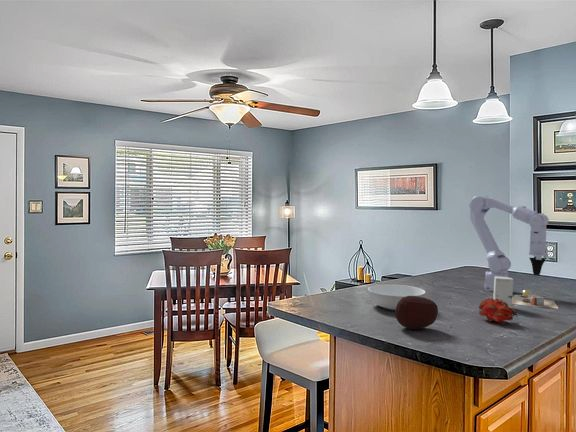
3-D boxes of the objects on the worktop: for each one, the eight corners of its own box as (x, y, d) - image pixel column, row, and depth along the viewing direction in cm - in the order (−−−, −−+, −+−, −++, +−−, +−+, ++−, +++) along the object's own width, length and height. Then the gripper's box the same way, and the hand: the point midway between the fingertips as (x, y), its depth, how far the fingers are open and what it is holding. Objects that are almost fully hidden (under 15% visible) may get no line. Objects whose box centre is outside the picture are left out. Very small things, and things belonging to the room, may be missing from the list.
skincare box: (494, 310, 164) (495, 277, 163) (492, 307, 168) (493, 276, 168) (512, 312, 162) (513, 279, 162) (510, 309, 166) (511, 277, 166)
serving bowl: (356, 303, 171) (357, 285, 171) (401, 299, 179) (401, 282, 179) (389, 317, 152) (390, 297, 152) (437, 312, 160) (438, 293, 160)
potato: (443, 334, 133) (444, 300, 133) (400, 334, 132) (401, 299, 132) (429, 323, 144) (430, 292, 144) (389, 323, 143) (390, 292, 143)
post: (522, 300, 178) (522, 290, 178) (522, 299, 180) (522, 289, 180) (530, 301, 177) (531, 291, 176) (530, 299, 179) (530, 290, 179)
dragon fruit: (475, 321, 154) (513, 334, 146) (472, 311, 148) (510, 323, 140) (484, 300, 157) (521, 311, 149) (480, 289, 151) (518, 300, 143)
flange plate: (513, 297, 182) (513, 289, 182) (530, 298, 182) (530, 290, 182) (531, 305, 169) (531, 297, 168) (549, 305, 169) (550, 297, 168)
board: (507, 305, 172) (507, 303, 172) (506, 297, 187) (506, 295, 187) (558, 310, 165) (558, 308, 165) (553, 302, 180) (553, 300, 180)
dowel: (530, 305, 170) (530, 297, 170) (530, 304, 171) (530, 296, 171) (534, 305, 170) (535, 297, 169) (534, 304, 171) (534, 297, 171)
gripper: (551, 244, 177) (549, 278, 177) (547, 241, 190) (545, 273, 190) (530, 243, 180) (529, 276, 180) (528, 240, 193) (527, 271, 193)
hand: (536, 275), depth 186 cm, fingers closed
